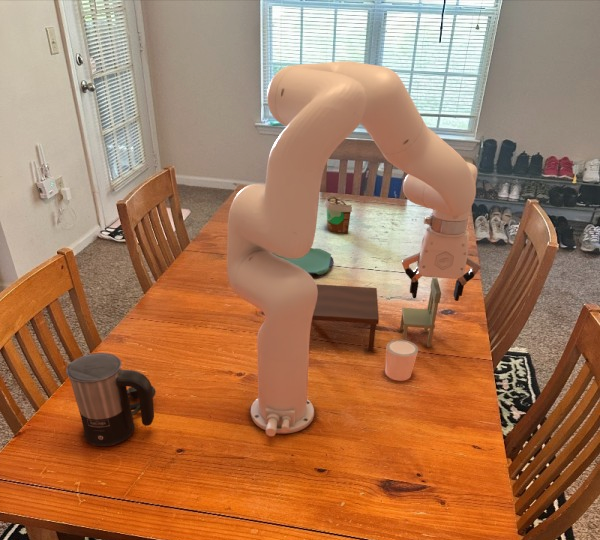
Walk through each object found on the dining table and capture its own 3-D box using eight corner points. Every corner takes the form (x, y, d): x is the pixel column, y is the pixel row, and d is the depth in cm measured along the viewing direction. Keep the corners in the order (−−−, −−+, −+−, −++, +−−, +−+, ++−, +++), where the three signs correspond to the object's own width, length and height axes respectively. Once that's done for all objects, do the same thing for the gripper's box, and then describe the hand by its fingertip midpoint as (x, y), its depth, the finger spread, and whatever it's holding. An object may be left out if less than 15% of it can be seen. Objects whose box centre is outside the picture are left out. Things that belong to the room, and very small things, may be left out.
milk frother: (82, 451, 103) (64, 384, 94) (83, 400, 114) (67, 337, 106) (162, 438, 106) (152, 373, 97) (155, 390, 118) (145, 328, 109)
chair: (430, 347, 134) (441, 293, 126) (401, 345, 135) (409, 291, 126) (427, 330, 141) (437, 278, 132) (399, 328, 141) (407, 276, 133)
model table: (374, 353, 132) (378, 319, 126) (297, 348, 133) (298, 314, 127) (372, 320, 145) (376, 287, 139) (302, 315, 145) (303, 283, 140)
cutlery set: (331, 282, 161) (331, 275, 160) (227, 274, 164) (227, 267, 162) (335, 255, 177) (336, 248, 176) (241, 248, 179) (241, 241, 178)
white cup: (377, 377, 124) (381, 350, 120) (389, 362, 129) (392, 336, 125) (407, 386, 122) (412, 359, 117) (417, 371, 126) (422, 344, 122)
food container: (317, 225, 198) (318, 196, 192) (333, 223, 200) (334, 194, 194) (333, 237, 189) (335, 207, 183) (349, 235, 191) (352, 205, 185)
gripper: (409, 228, 118) (398, 302, 128) (493, 232, 117) (475, 307, 127) (406, 216, 124) (396, 287, 134) (486, 220, 123) (469, 292, 133)
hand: (434, 296), depth 131 cm, fingers open, 9 cm apart
